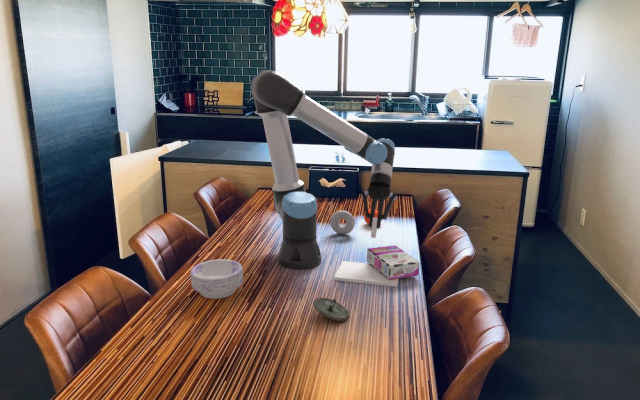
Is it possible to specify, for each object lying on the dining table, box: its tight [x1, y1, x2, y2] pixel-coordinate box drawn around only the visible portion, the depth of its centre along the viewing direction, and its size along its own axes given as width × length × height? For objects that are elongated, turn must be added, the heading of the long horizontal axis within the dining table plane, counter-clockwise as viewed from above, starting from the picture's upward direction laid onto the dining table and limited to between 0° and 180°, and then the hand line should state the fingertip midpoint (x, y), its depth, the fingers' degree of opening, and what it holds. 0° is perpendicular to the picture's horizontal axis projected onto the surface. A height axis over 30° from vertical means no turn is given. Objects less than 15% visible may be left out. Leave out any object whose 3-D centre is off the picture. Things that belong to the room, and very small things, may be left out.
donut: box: [329, 210, 356, 235], centre depth 203 cm, size 10×4×10 cm, turn 76°
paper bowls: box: [190, 258, 244, 300], centre depth 151 cm, size 15×15×8 cm
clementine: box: [363, 208, 378, 225], centre depth 215 cm, size 8×7×7 cm
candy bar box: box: [366, 245, 421, 280], centre depth 168 cm, size 11×5×16 cm
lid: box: [312, 297, 350, 323], centre depth 138 cm, size 11×10×5 cm
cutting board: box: [333, 260, 400, 288], centre depth 166 cm, size 14×20×1 cm
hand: (373, 235), depth 173 cm, fingers closed
